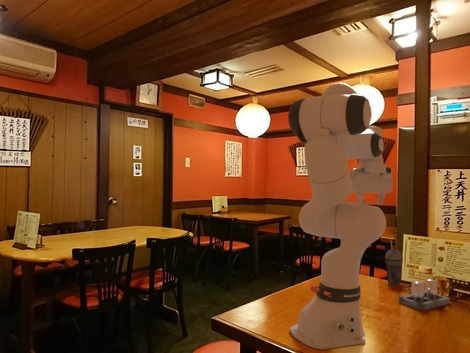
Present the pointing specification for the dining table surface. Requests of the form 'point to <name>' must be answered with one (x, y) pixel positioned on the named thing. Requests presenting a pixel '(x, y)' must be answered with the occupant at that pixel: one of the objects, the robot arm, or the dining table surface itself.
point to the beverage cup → (393, 266)
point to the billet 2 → (431, 288)
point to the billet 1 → (418, 291)
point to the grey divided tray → (426, 304)
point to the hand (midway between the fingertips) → (370, 204)
